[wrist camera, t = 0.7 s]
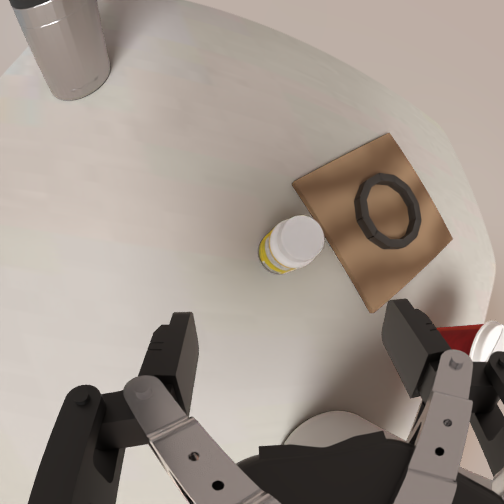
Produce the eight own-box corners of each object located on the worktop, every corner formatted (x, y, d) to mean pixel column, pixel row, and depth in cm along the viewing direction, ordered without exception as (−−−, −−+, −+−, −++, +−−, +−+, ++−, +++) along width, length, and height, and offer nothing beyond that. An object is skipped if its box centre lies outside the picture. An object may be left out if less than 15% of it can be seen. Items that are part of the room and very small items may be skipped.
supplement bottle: (294, 230, 36) (323, 208, 28) (301, 271, 36) (334, 260, 27) (253, 235, 35) (272, 213, 27) (260, 277, 35) (282, 268, 26)
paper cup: (406, 388, 36) (484, 409, 22) (389, 340, 36) (471, 348, 23) (444, 356, 38) (520, 363, 24) (428, 310, 38) (508, 305, 25)
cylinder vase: (275, 417, 32) (408, 553, 8) (371, 400, 35) (540, 460, 10) (276, 501, 30) (365, 641, 6) (365, 480, 32) (491, 568, 8)
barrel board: (291, 184, 37) (298, 176, 35) (385, 135, 42) (394, 127, 39) (369, 312, 36) (381, 312, 34) (448, 240, 41) (459, 236, 38)
